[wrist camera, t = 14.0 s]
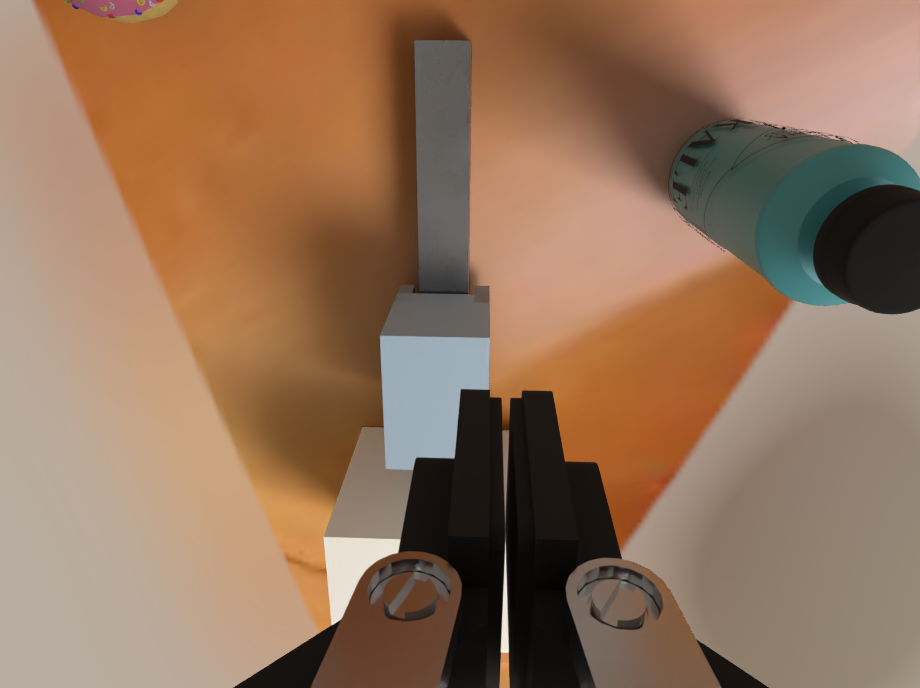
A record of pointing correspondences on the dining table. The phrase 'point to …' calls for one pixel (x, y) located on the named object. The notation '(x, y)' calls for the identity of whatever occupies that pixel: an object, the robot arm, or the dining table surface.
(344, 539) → the cabinet
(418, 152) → the rail
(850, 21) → the dining table surface
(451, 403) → the carriage
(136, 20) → the cupcake
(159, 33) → the dining table surface
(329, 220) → the dining table surface
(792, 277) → the beverage bottle
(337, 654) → the robot arm
